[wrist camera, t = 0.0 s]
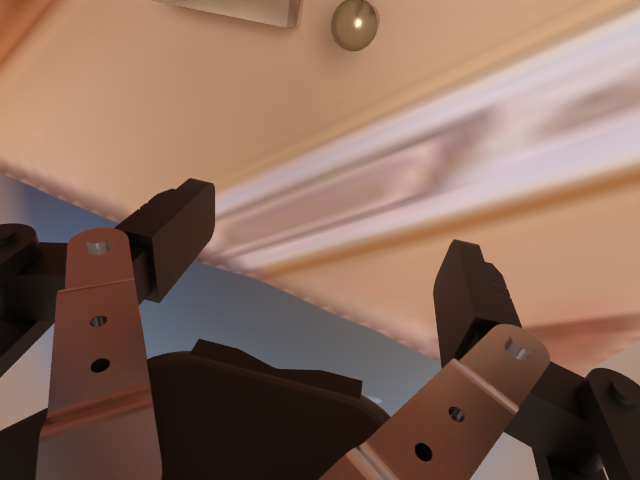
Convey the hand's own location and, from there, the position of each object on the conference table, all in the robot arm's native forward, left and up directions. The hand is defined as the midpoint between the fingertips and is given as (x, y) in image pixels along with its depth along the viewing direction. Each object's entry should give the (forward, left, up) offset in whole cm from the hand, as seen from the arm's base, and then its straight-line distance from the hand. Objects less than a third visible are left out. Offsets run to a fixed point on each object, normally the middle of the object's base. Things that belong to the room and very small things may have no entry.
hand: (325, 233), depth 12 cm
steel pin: (-5, -2, -29) cm, 30 cm away
